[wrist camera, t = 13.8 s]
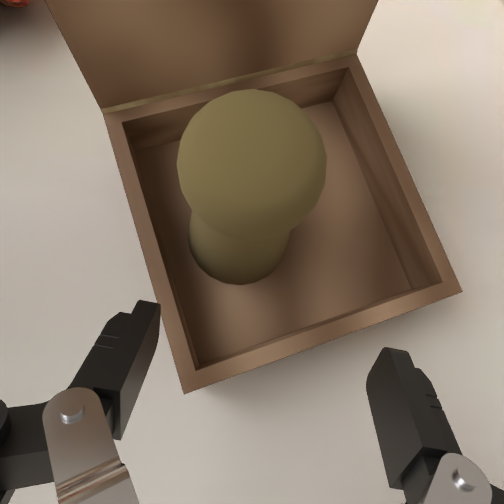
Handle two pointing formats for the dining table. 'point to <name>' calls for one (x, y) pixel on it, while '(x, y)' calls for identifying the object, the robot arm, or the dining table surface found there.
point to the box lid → (200, 42)
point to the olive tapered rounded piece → (248, 181)
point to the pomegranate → (15, 3)
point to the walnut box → (301, 237)
